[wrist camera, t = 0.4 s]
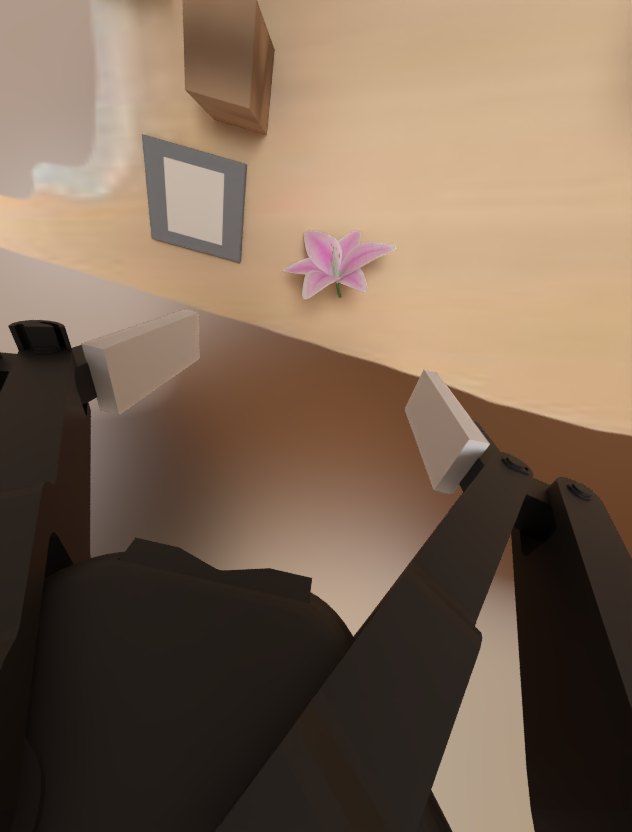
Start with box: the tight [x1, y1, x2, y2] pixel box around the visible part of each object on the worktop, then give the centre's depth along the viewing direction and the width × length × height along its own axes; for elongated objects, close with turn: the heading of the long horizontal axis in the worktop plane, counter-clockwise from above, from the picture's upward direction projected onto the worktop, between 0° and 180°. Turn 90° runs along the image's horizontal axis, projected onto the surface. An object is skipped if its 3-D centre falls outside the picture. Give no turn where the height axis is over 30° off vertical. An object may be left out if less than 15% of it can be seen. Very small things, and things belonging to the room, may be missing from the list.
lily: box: [284, 230, 397, 300], centre depth 32 cm, size 12×12×10 cm
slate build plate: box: [142, 134, 247, 262], centre depth 32 cm, size 10×12×1 cm
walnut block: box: [183, 0, 275, 135], centre depth 25 cm, size 6×6×6 cm
